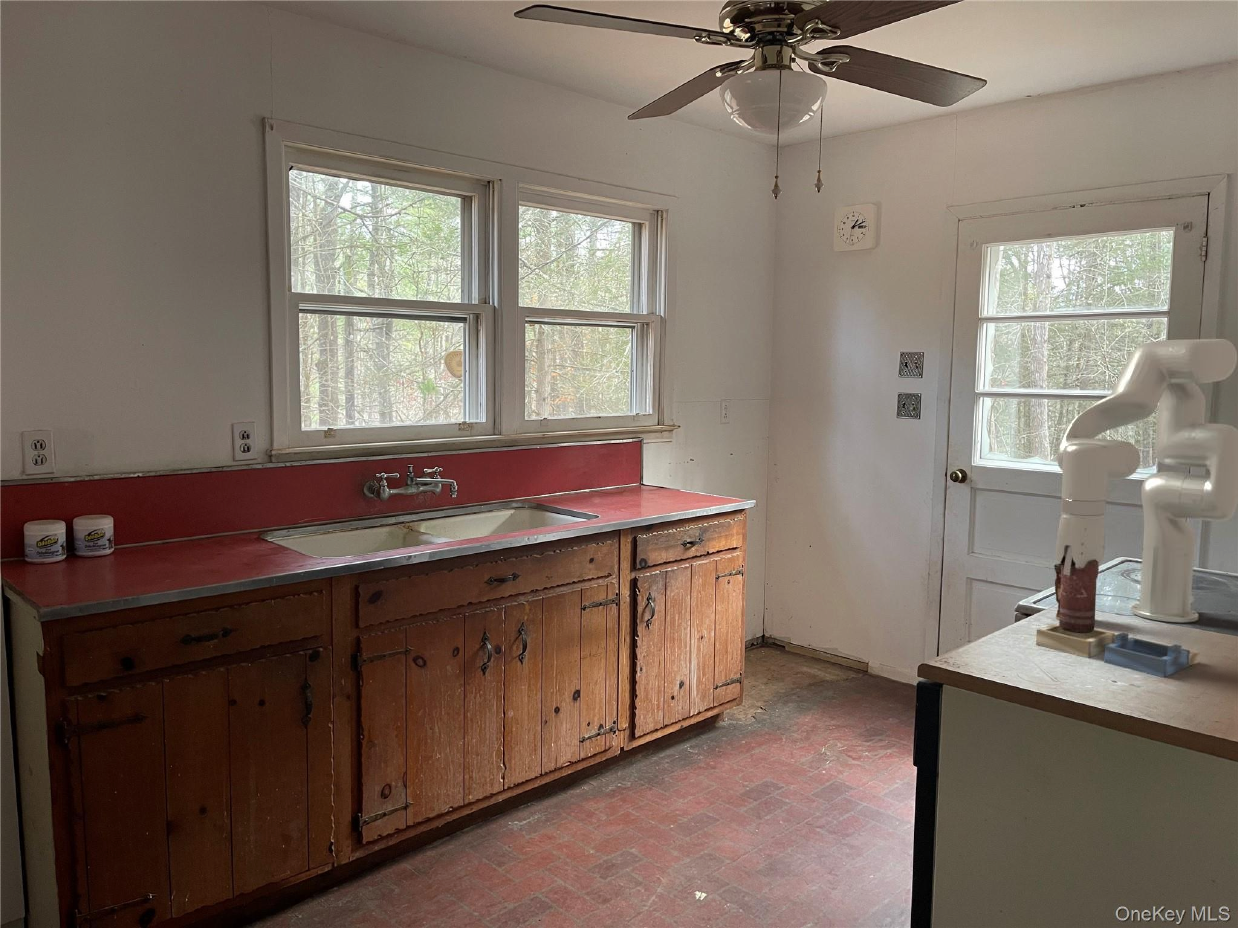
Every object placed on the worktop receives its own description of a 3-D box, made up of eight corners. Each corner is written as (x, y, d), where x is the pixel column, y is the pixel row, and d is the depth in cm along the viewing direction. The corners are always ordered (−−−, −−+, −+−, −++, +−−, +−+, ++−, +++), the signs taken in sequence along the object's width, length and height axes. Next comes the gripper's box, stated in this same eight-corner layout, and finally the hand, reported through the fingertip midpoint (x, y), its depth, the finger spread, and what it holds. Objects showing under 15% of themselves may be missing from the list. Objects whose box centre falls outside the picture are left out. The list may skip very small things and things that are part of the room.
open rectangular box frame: (1073, 632, 180) (1074, 611, 180) (1198, 662, 161) (1200, 638, 161) (1035, 644, 172) (1037, 621, 172) (1163, 677, 153) (1165, 651, 153)
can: (1100, 634, 167) (1103, 562, 166) (1064, 633, 169) (1066, 561, 167) (1090, 625, 173) (1093, 555, 172) (1055, 623, 175) (1057, 554, 173)
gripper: (1083, 501, 176) (1080, 590, 178) (1043, 509, 167) (1040, 604, 169) (1122, 505, 170) (1118, 598, 172) (1083, 515, 161) (1079, 612, 163)
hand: (1079, 601), depth 171 cm, fingers closed
